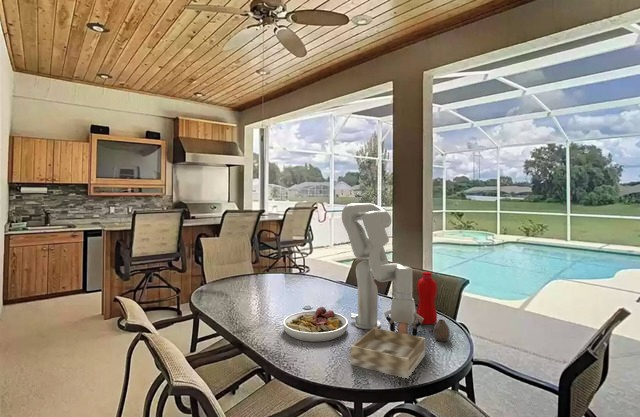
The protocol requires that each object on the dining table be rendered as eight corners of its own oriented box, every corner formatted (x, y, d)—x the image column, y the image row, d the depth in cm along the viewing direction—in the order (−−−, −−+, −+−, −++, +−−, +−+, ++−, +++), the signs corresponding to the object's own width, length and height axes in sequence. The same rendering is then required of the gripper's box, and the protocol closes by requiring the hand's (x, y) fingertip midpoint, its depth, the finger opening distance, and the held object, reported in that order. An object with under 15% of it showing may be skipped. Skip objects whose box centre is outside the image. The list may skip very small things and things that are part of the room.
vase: (446, 336, 168) (446, 317, 167) (452, 343, 161) (452, 322, 160) (430, 336, 168) (431, 317, 167) (436, 343, 161) (436, 323, 160)
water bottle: (433, 317, 192) (434, 269, 191) (437, 325, 182) (438, 274, 180) (415, 317, 193) (415, 269, 192) (418, 324, 182) (419, 273, 181)
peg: (396, 341, 162) (397, 319, 162) (399, 338, 165) (400, 316, 165) (405, 343, 160) (406, 320, 159) (408, 340, 163) (409, 317, 163)
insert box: (350, 364, 141) (350, 346, 141) (373, 343, 160) (373, 327, 160) (407, 379, 130) (408, 359, 130) (425, 355, 149) (425, 337, 149)
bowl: (342, 347, 157) (342, 328, 157) (274, 341, 163) (274, 323, 163) (351, 322, 187) (351, 307, 186) (293, 318, 193) (293, 303, 192)
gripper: (381, 294, 163) (381, 333, 164) (421, 300, 154) (420, 341, 155) (387, 290, 169) (387, 328, 170) (426, 295, 160) (425, 335, 161)
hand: (403, 334), depth 162 cm, fingers open, 9 cm apart
